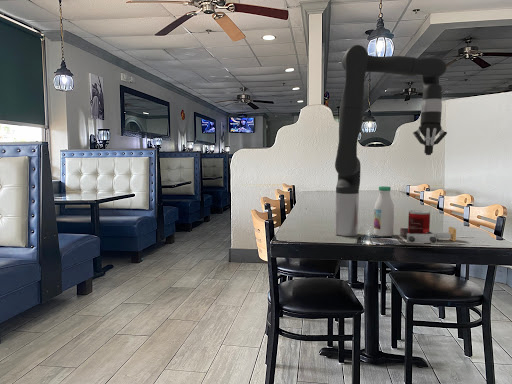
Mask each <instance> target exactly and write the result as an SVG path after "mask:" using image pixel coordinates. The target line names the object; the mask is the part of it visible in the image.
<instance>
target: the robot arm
mask: <svg viewBox="0 0 512 384" xmlns="http://www.w3.org/2000/svg"><path fill="white" fill-rule="evenodd" d="M341 65H342V68H343V69H344V70H345V81H344V87H343V90H342V94H341V99H340V103H339V104H340V105H339V115H338V145H337V150H336V157H335V161H334V162H335V163H334V168H335V171H336V173H337V182H336V183H337V184H336V186H335V210H334V233H335V235H336V236H343V237H345V236H346V237H355V236H358V235H359V207H360V206H359V203H360V186H361V185H360V184H361V166H362V165H361V161H360V158H358V153H357V152H358V149H357V148H358V139H359V136H360V132H361V130H362V129H361V128H362V124H363V118H364V102H365V101H364V99H365V97H364V96H365V79H366V73H381V74H382V73H384V74H393V75H401V76H407V77H415V76H421V83H422V84H421V85H422V88H423V89H422V90H423V91H422V100H421V101H422V102H421V108H420V120H419V121H420V122H419V126H418V129H417V130H415V131H413V132H412V134H413V136H414V137H415V138H416V140H417V141H418V142H419V143H420V144H421V145H423V146H424V150H423V151H424V154H425V155H426V156H431V155H432V154H433V152H434V146H435V145H438V144H439V143H440V142H441V141H442V140H443V139H444V138H445V136H447V134H448V132H447V131H445V130H443V127H442V109H443V104H442V103H443V101H442V98H443V97H442V96H443V87H442V85H441V84H440V77H442V76H443V75H444V74H445V73H446V71H447V68H448V67H447V63H446V61H445V60H443V59H441V58H438V57H420V58H419V57H411V56H404V55H403V56H402V55H391V56H387V55H386V56H377V55H375V56H374V55H370V54H369V53H368V50H367V49H366V48H365V47H364V46H363V45H360V44H355V45H353V46H351V47H349V48H348V49H347V50H346V51H345V53H344V55H343V57H342V58H341ZM421 135H422V136H423V137H422V136H421ZM438 135H439V136H438ZM437 136H438V137H437ZM436 137H437V138H436Z"/></svg>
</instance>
